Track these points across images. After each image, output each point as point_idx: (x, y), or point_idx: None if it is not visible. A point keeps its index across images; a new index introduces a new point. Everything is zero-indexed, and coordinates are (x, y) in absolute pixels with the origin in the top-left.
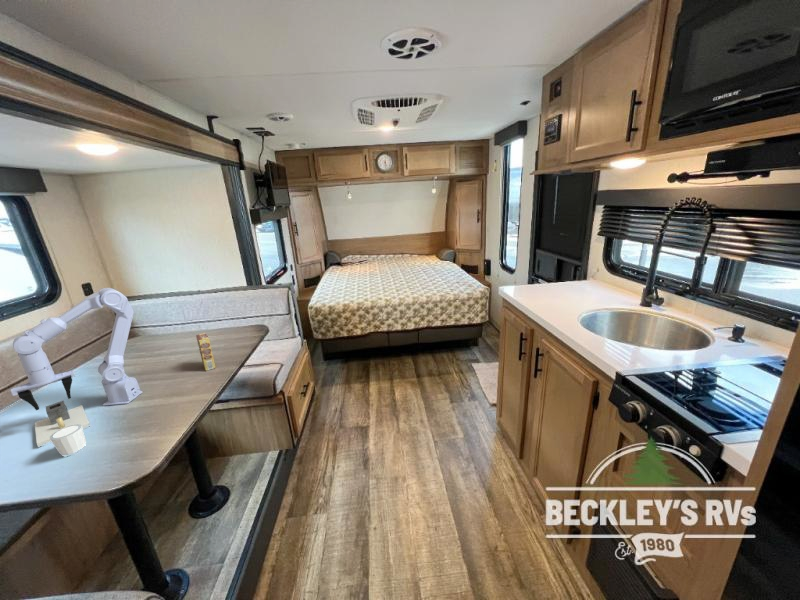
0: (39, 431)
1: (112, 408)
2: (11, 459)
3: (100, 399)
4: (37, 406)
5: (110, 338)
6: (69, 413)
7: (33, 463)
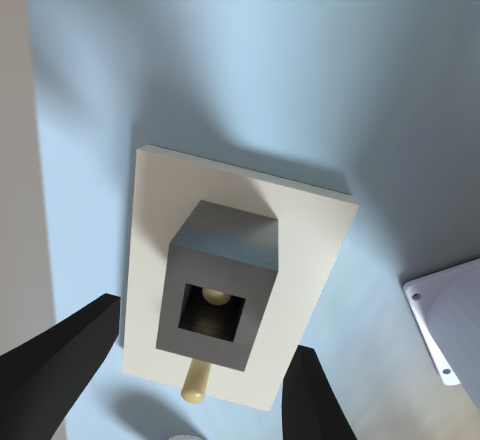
0: (139, 289)
1: (392, 349)
2: None
3: (469, 171)
4: (98, 366)
5: None
6: None
7: (113, 413)
